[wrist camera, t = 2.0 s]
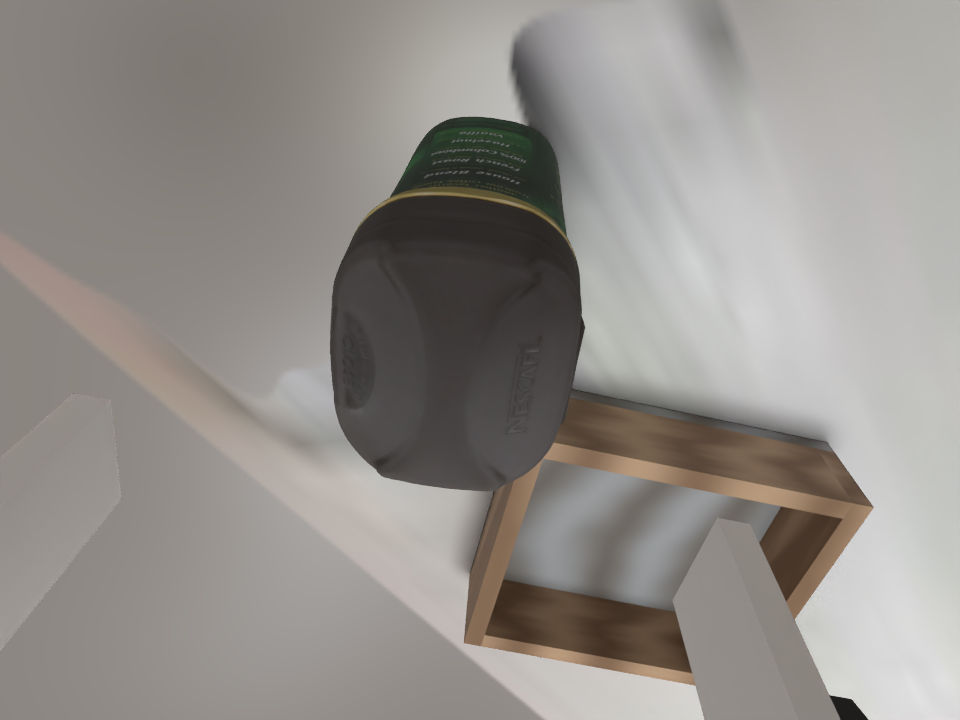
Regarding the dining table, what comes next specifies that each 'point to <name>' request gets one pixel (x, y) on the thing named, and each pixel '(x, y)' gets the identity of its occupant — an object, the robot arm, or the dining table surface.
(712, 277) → the dining table surface
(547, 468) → the walnut crate
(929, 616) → the dining table surface
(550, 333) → the coffee jar
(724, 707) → the robot arm
